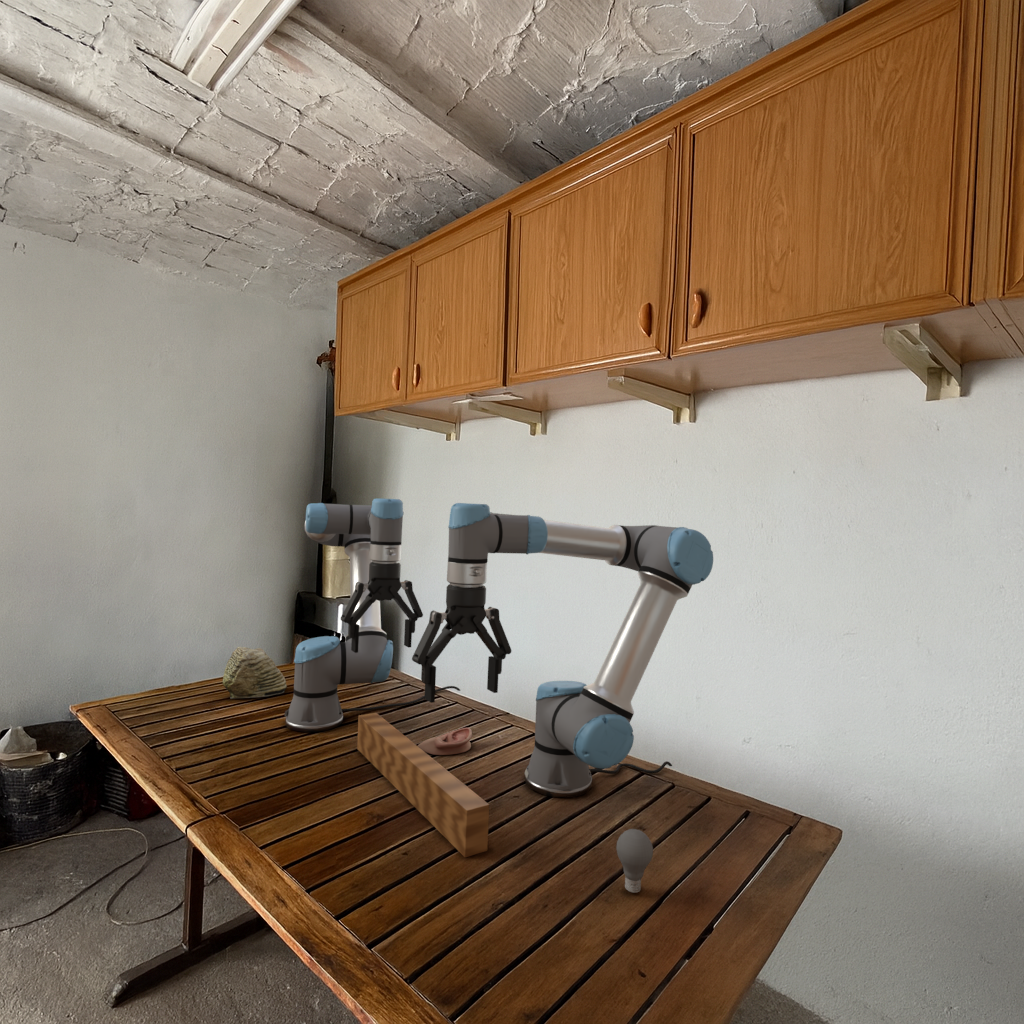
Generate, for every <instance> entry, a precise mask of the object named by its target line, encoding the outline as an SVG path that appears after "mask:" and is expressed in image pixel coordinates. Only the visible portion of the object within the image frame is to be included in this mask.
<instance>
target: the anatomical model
mask: <svg viewBox="0 0 1024 1024" xmlns="http://www.w3.org/2000/svg"><path fill="white" fill-rule="evenodd" d="M472 737H473V731H472V729H471V728H470V727H462V728H459V729H455V730H451V731H449V732H447V733H443V734H441V735H438V736H435V737H431V738H427V739H425V740H423V741H421V742H419V744H418V745H417V746H418V747H419V748H420V749H421V750H423V751H424V752H425V753H426V754H428V755H429V754H430V755H434V756H448V755H457V754H461V753H465V752H467V751H469V750H470V749H471V747H472V744H471V742H470V741H471V739H472Z"/></svg>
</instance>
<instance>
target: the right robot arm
mask: <svg viewBox="0 0 1024 1024" xmlns="http://www.w3.org/2000/svg"><path fill="white" fill-rule="evenodd" d="M490 509H491V508H490V506H489V504H485V503H470V502H469V503H467V502H455V503H453V505H452V506H451V508H450V513H449V520H448V521H449V522H448V526H447V527H448V528H447V529H448V548H447V549H448V552H447V554H448V555H447V556H448V557H447V570H446V573H447V574H446V581H447V583H449V584H447V586H446V592H445V593H446V594H445V597H446V598H445V604H446V609H445V612H441V611H436V610H433V609H432V610H431V611H430V613H429V619H428V624H427V626H426V628H425V630H424V632H423V634H422V636H421V638H420V641H419V642H418V644H417V646H416V648H415V651H414V652H413V655H412V657H411V660H412V662H414V663H415V664H418V665H420V667H421V671H420V672H421V673H420V674H421V675H420V680H421V683H423V684H424V695H425V698H424V699H425V700H426V701H428V702H429V703H432V704H433V703H435V702H436V692H435V690H436V682H437V681H436V679H437V678H436V677H437V666H435V665H433V664H434V663H435V662H436V661H437V659H438V658H439V657H440V655H441V654H442V653H443V652H444V650H445V649H446V647H447V646H448V644H450V642H451V641H452V639H454V638H456V636H457V635H460V636H461V635H466V634H470V635H471V634H475V633H476V635H477V636H478V637H479V639H480V640H481V641H482V643H483V644H484V645H485V647H486V648H487V649H488V651H489V652H490V654H491V655H492V656H491V655H490V656H488V657H487V659H488V660H487V682H486V683H487V684H486V689H487V690H488V691H490V692H491V693H493V694H496V693H498V692H499V690H498V689H499V675H501V674H502V672H503V670H502V669H503V660H505V659H506V658H507V655H510V654H512V647H511V646H510V642H509V640H508V638H507V635H506V632H505V629H504V628H503V625H502V622H501V619H500V610H499V609H498V608H496V607H492V606H488V607H487V608H485V605H486V602H487V599H486V598H487V587H486V586H485V584H486V583H487V575H488V574H487V573H488V562H489V561H488V557H489V554H522V555H523V554H526V555H529V554H544V555H545V554H546V555H553V556H561V557H571V558H581V559H589V560H598V561H599V560H600V561H605V563H606V564H607V565H609V566H615V567H621V568H625V569H628V570H631V571H635V572H637V576H638V579H639V583H640V584H639V586H638V588H637V590H636V592H635V594H634V597H633V599H632V601H631V603H630V605H629V607H628V609H627V612H626V614H625V616H624V618H623V620H622V622H621V625H619V628H618V630H617V632H616V635H615V636H614V638H613V641H612V643H611V645H610V647H609V650H608V652H607V654H606V656H605V658H604V660H603V662H602V664H601V666H600V668H599V670H598V673H597V675H596V677H595V678H594V679H595V680H594V681H593V682H592V683H590V684H586V683H584V682H581V681H577V680H576V681H575V680H552V681H545V682H542V683H541V684H540V685H538V687H537V690H536V697H535V702H536V704H535V722H534V723H535V724H534V728H535V729H534V747H533V750H532V753H531V755H530V759H529V763H528V765H527V767H526V768H525V771H524V782H525V784H526V786H527V787H528V788H529V789H531V790H532V791H534V792H536V793H538V794H541V795H543V796H548V797H553V798H575V797H579V796H582V795H584V794H587V793H588V792H589V791H590V790H591V789H592V785H593V782H592V781H593V776H592V773H600V774H609V775H615V774H618V773H619V771H620V769H621V768H623V767H627V768H631V769H635V770H637V771H640V772H642V773H646V774H658V773H660V772H662V771H663V769H664V768H665V767H666V766H669V767H673V763H671V762H670V761H667V760H666V761H664V762H663V763H662V764H661V765H660V766H659V767H658V768H657V769H653V770H652V769H651V770H650V769H645V768H642V767H640V766H637V765H635V764H631V763H627V762H626V763H625V762H624V763H622V762H623V761H624V760H625V759H626V757H628V755H629V754H630V752H631V750H632V748H633V744H634V740H635V736H634V733H633V732H634V729H633V726H632V725H631V721H632V719H633V717H634V715H635V711H634V708H633V705H632V701H633V698H634V696H635V694H636V692H637V689H638V687H639V685H640V683H641V681H642V679H643V677H644V675H645V672H646V670H647V667H648V665H649V663H650V661H651V659H652V657H653V654H654V652H655V651H656V648H657V646H658V643H659V641H660V639H661V637H662V634H663V632H664V631H665V628H666V626H667V624H668V622H669V619H670V617H671V615H672V613H673V610H674V608H675V606H676V604H677V602H678V601H679V600H681V599H684V598H686V597H688V595H689V593H690V591H691V590H692V587H693V585H697V584H700V583H701V582H704V581H706V579H707V578H708V577H709V575H710V574H711V572H712V569H713V566H714V552H713V550H712V545H711V543H710V541H709V539H708V538H707V537H706V536H705V535H704V533H702V532H700V531H698V530H697V529H692V528H688V527H685V526H677V527H676V526H665V525H664V526H663V525H655V524H649V525H619V524H612V525H610V526H609V527H602V526H596V525H587V524H579V523H572V522H566V521H565V522H563V521H557V520H549V519H543V517H541V516H539V515H538V516H537V515H530V514H527V515H526V514H525V515H522V514H509V513H506V514H505V513H498V512H497V513H496V512H491V511H490ZM485 619H487V620H488V624H489V626H490V629H491V631H492V633H493V637H494V639H495V640H494V639H493V637H492V636H491V634H490V633H489V632H488V629H487V627H486V626H485V625H484V623H483V622H484V620H485ZM444 621H445V625H444V626H443V627H442V628H441V624H443V623H444ZM440 628H441V632H440V634H439V635H438V633H439V631H440ZM437 635H438V636H437ZM424 699H423V700H424ZM615 766H616V769H614V770H608V769H610V768H611V767H615ZM590 767H592V768H590Z"/></svg>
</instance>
